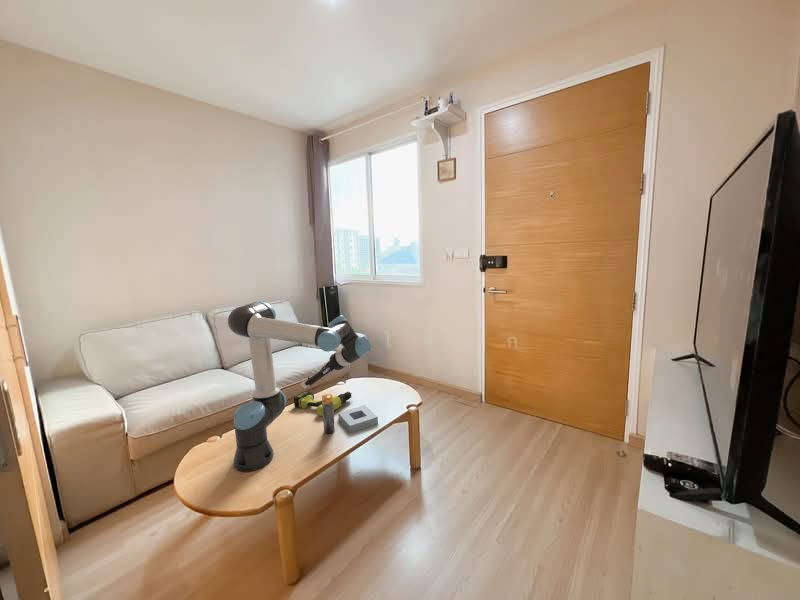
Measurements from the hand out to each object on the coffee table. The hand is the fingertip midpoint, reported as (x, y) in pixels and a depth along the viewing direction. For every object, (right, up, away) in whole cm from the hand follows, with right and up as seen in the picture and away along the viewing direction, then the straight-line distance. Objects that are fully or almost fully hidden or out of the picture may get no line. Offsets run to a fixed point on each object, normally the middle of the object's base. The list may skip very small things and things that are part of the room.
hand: (311, 377), depth 151 cm
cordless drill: (-2, -24, +35) cm, 42 cm away
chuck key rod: (+7, -27, +6) cm, 29 cm away
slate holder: (+20, -26, +15) cm, 36 cm away
